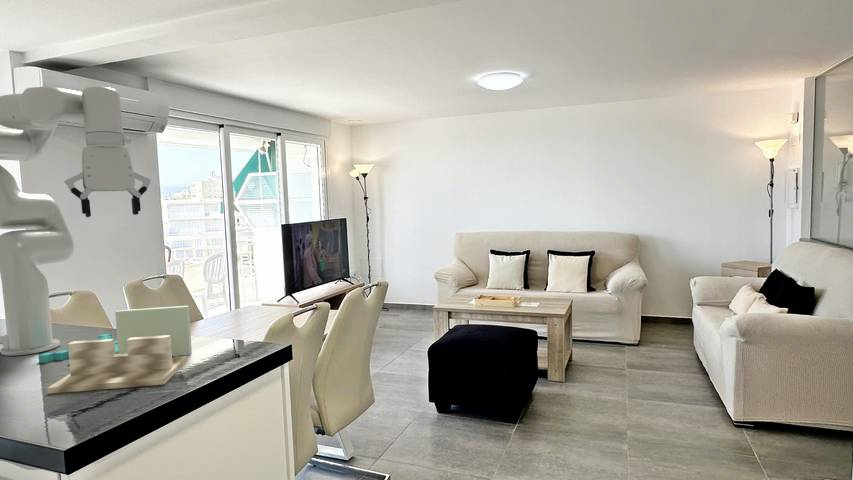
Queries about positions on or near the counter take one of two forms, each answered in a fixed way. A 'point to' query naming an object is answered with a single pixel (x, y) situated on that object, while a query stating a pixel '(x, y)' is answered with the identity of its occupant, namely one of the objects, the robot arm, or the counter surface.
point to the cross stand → (118, 364)
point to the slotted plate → (155, 326)
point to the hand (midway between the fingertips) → (112, 215)
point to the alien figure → (65, 354)
